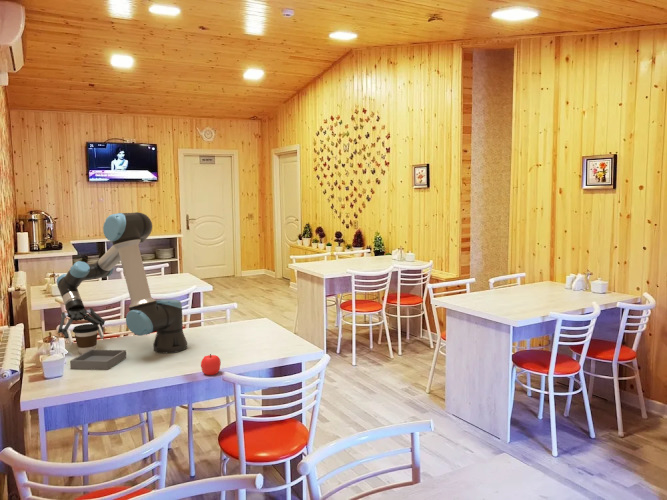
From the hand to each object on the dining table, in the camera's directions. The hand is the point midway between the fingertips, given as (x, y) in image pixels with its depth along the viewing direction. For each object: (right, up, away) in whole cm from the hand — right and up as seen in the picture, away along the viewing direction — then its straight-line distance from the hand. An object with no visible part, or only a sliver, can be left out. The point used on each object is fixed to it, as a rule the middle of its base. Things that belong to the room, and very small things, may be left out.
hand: (87, 340), depth 246 cm
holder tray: (+12, -7, -15) cm, 20 cm away
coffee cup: (-1, -6, +2) cm, 6 cm away
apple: (+63, -8, -29) cm, 69 cm away
